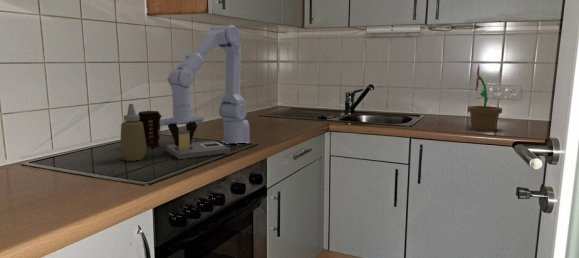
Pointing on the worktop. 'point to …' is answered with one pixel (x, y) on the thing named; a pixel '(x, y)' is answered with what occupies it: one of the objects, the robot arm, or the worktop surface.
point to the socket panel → (199, 149)
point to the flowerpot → (483, 112)
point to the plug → (183, 139)
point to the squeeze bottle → (132, 136)
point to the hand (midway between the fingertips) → (183, 145)
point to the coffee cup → (151, 127)
